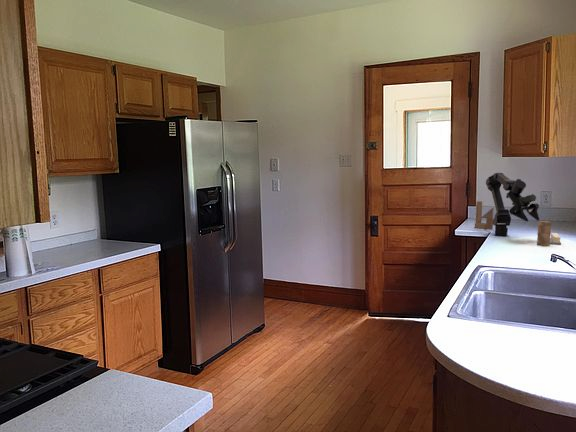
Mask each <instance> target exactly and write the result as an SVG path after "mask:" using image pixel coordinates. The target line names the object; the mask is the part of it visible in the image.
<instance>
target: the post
mask: <svg viewBox="0 0 576 432" xmlns="http://www.w3.org/2000/svg"><path fill="white" fill-rule="evenodd" d="M537 225H538V227H537V240H536V246H540V247H550V245H551V244H550V238H551V233H552V221H546V220H540V221H539V220H538V222H537Z"/></svg>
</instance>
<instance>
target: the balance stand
mask: <svg viewBox="0 0 576 432" xmlns="http://www.w3.org/2000/svg"><path fill="white" fill-rule="evenodd" d="M550 245H554V246H555V245H557V246H561V245H562V242H561V236H560V235H559V234H558V233H556V232H555V233H554V232H551V234H550Z"/></svg>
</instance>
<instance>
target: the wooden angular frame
mask: <svg viewBox="0 0 576 432" xmlns="http://www.w3.org/2000/svg"><path fill="white" fill-rule="evenodd" d="M475 207H476V208H475V222H474V229H479V230H493V228H494V225H493V223H492V221H493V219H494V210H495V209H494V207H492V208H491V209H489V210H488V211H487V212H485V214H483V201H481V200H477V201H476V206H475ZM482 214H483V215H482ZM482 219H485V220H486V221H485V222H482Z"/></svg>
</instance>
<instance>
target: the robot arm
mask: <svg viewBox="0 0 576 432" xmlns="http://www.w3.org/2000/svg"><path fill="white" fill-rule="evenodd" d="M485 185H486V187H487V190H488V191H490V192H491V196H492V199H493V202H494V203H493V204H494V206H495V211H496V212H495V213H494V216H493V221H492V223H493V226H494V227H495V229H494V236H498V237H507V236H508V230H509V229H508V227H509V226H511V221H512V217H511V215H512V216H515V217H517V218H519V219H521V220H523V221H525V222H529V219H528V216H527V215H526V214H525V212H524V211H526V212H527V213H528V215H529V216H531V217H533V219H535V220H536V221H539V220H540V216H539V214H538V209H539V207H540V204H539V203H536V202H535V201H536V200H537V196H536V195H535V194H534V193H533V194H529V195H526V196H522V195H521V194H522V193H523V191H524V190H525V189H526V187H527V183H526V182H525V181H523V180H522V179H520V178H517V179H516V180H515V179H510V178H509V177H507V176H506V175H505V174H504V173H503V172H495V173H493V174H492V175H490V176H489V177H487V178H486V179H485ZM501 186H502V188H503V190H505V191H508V192H507V193H506V196H505V198H506V199H510V201H511V202H512V203H511V205H512V207H511V208H509V209H507V208H505V205H504V200H503V197H502V193H501ZM532 202H535V203H532Z"/></svg>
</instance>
